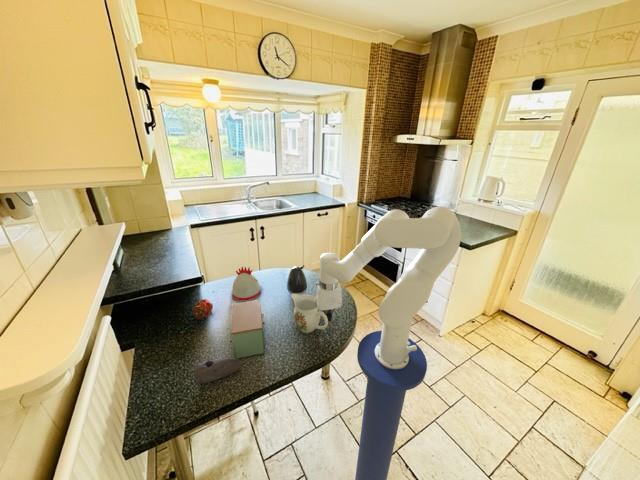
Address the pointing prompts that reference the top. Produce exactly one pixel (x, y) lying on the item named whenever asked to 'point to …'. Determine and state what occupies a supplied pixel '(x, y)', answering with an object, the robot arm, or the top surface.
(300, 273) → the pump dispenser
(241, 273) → the grey rounded dome
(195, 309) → the dragon fruit
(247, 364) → the top surface
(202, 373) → the perforated stone tool
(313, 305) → the pitcher
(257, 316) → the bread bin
